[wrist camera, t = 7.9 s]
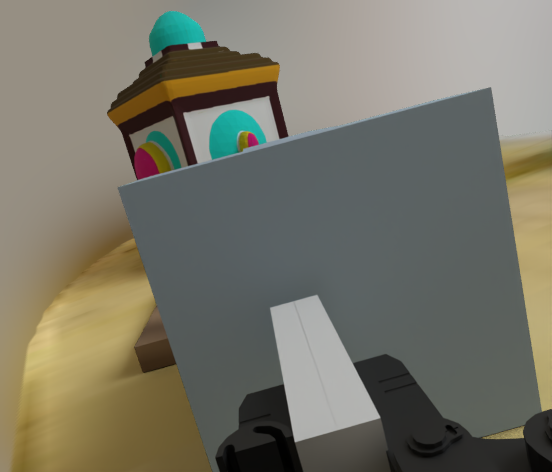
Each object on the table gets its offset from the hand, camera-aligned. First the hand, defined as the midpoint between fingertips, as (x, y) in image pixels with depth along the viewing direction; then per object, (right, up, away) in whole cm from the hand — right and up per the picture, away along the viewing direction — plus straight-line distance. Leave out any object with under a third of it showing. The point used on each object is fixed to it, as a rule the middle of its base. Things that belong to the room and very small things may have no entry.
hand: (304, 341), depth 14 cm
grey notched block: (+3, -4, +9) cm, 10 cm away
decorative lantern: (-6, +2, +49) cm, 50 cm away
